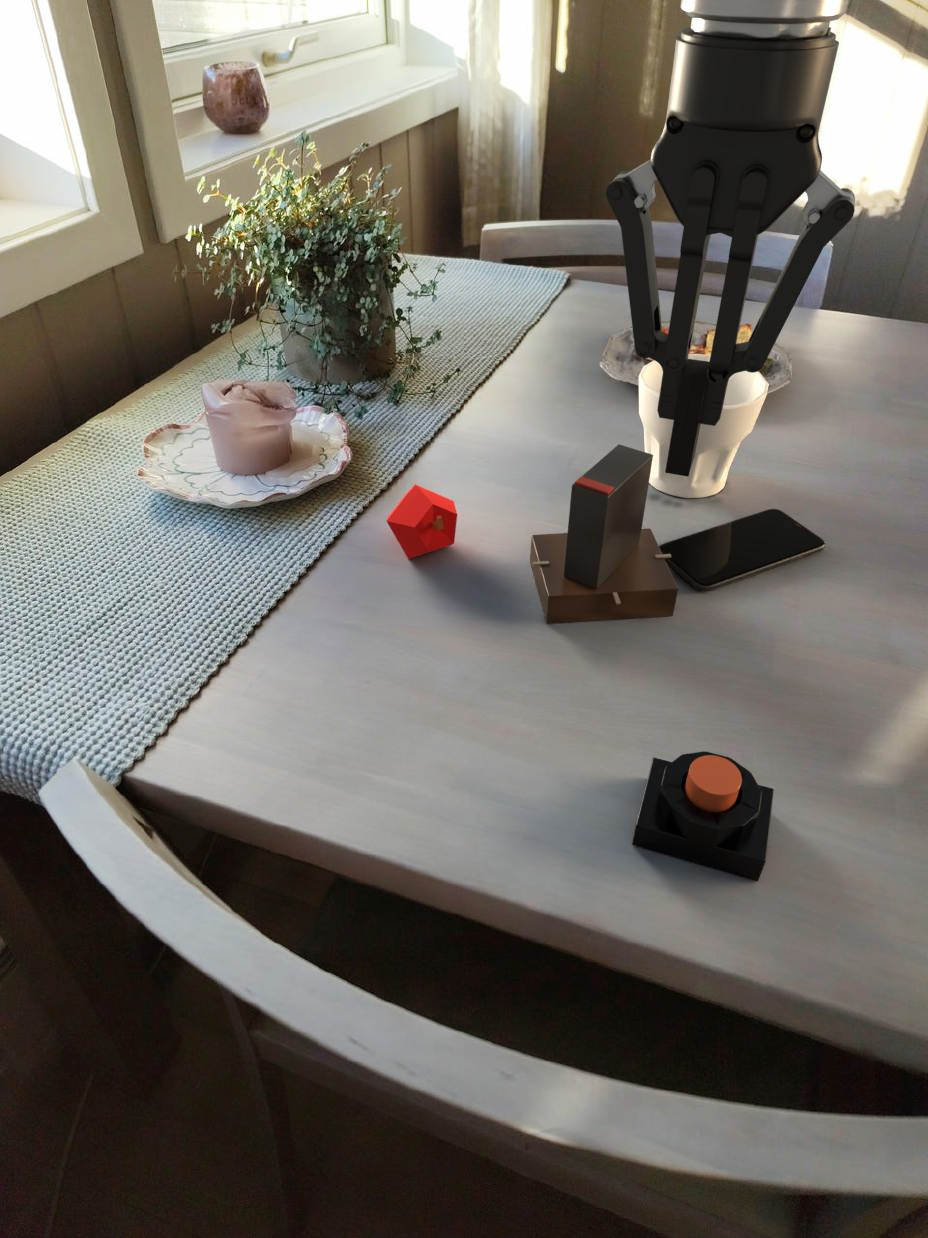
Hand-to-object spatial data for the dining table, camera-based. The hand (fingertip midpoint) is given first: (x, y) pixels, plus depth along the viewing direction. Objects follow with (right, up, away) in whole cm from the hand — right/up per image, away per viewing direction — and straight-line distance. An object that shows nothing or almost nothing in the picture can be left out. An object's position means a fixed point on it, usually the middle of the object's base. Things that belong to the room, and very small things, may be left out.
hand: (680, 464), depth 56 cm
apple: (-18, -3, +26) cm, 32 cm away
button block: (+2, -24, +1) cm, 24 cm away
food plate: (+16, +22, +56) cm, 62 cm away
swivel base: (-2, -7, +21) cm, 22 cm away
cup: (+9, +5, +36) cm, 37 cm away
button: (+2, -21, -1) cm, 21 cm away
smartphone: (+12, -4, +25) cm, 28 cm away
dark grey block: (-2, -5, +19) cm, 20 cm away
